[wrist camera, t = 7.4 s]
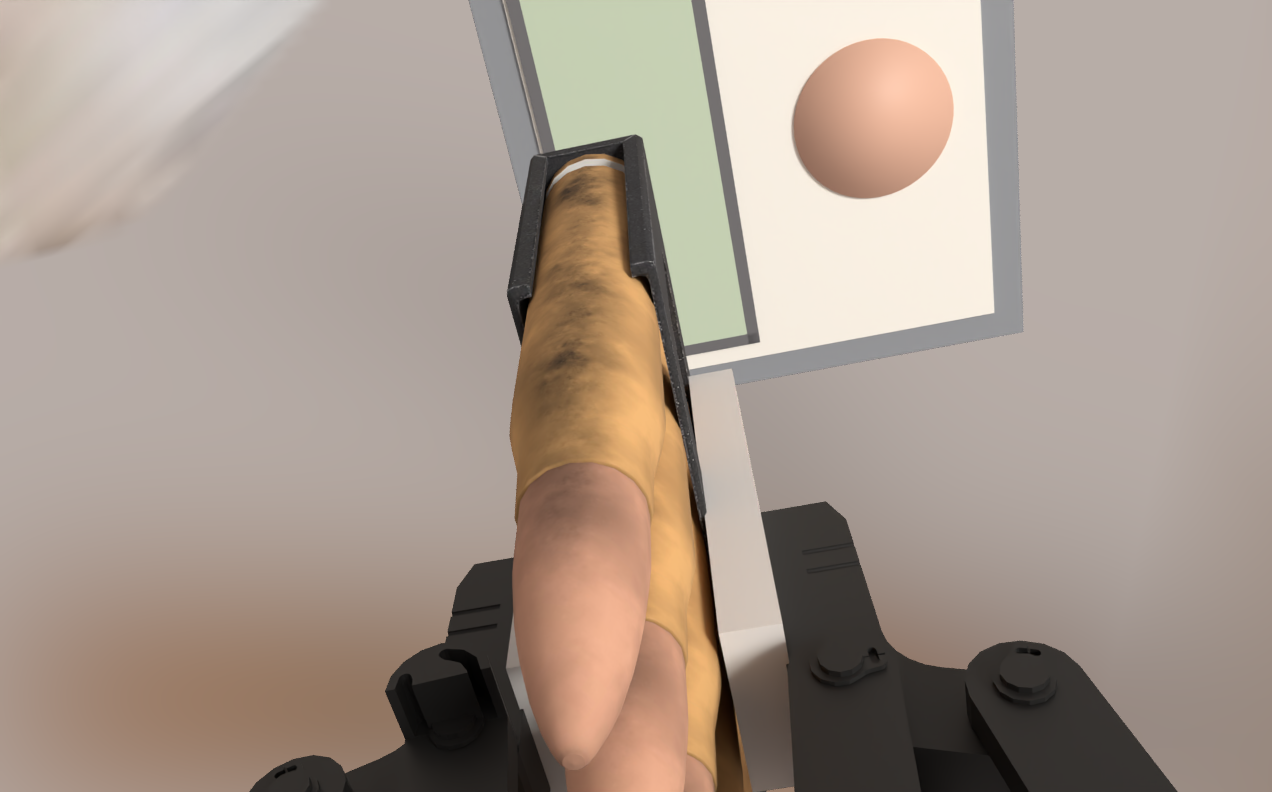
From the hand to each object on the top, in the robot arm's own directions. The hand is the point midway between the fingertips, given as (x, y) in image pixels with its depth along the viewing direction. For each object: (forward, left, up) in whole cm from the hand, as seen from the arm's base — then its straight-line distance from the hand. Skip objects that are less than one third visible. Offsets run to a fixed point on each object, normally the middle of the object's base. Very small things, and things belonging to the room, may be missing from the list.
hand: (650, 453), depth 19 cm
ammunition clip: (0, 0, -1) cm, 1 cm away
